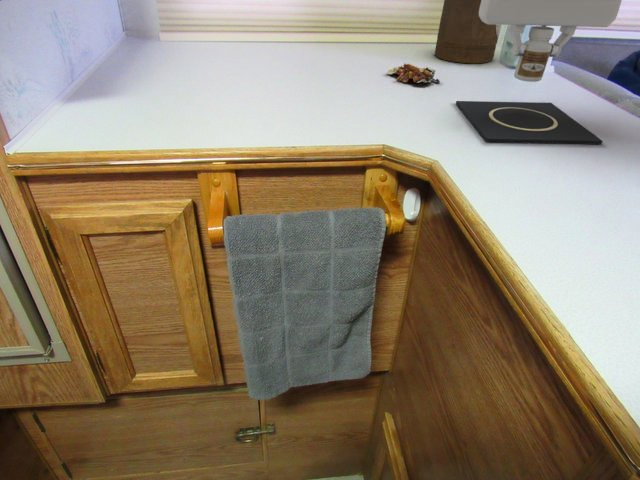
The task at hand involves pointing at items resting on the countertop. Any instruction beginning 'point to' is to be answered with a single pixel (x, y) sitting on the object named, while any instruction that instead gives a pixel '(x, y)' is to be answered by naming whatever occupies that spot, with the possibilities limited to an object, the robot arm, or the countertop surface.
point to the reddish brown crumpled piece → (413, 73)
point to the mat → (525, 123)
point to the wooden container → (465, 34)
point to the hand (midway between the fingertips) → (534, 55)
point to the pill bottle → (535, 54)
